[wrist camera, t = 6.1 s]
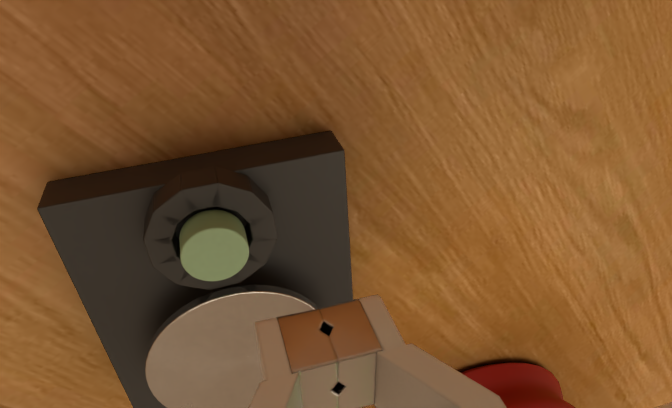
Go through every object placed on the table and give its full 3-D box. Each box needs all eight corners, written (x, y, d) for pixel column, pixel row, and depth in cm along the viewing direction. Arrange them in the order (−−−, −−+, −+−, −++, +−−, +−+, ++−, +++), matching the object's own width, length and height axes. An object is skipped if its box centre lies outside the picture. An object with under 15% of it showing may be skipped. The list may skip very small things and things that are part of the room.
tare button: (172, 216, 22) (172, 236, 21) (239, 202, 23) (243, 221, 22) (187, 267, 24) (188, 288, 23) (249, 253, 24) (254, 273, 23)
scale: (43, 173, 23) (23, 220, 20) (331, 122, 26) (354, 156, 23) (141, 390, 32) (138, 446, 29) (346, 335, 35) (364, 381, 32)
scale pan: (120, 312, 24) (119, 321, 23) (322, 264, 26) (325, 271, 25) (171, 431, 29) (172, 441, 29) (334, 385, 31) (336, 392, 31)
